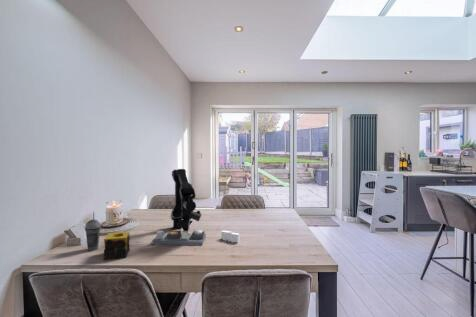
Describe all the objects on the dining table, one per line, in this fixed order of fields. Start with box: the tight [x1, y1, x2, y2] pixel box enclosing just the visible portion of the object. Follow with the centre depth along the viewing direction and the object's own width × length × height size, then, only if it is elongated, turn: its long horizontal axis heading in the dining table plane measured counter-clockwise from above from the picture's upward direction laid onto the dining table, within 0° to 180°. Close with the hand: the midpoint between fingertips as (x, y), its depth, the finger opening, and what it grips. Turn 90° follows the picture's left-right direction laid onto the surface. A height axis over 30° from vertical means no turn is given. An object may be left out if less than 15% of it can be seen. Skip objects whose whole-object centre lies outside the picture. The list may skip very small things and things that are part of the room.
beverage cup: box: [84, 211, 102, 252], centre depth 128 cm, size 7×7×20 cm
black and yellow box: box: [103, 231, 131, 261], centre depth 122 cm, size 10×10×10 cm
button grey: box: [193, 229, 203, 235], centre depth 142 cm, size 5×5×2 cm
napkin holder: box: [220, 230, 241, 244], centre depth 143 cm, size 15×11×6 cm
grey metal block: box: [156, 230, 165, 240], centre depth 139 cm, size 3×3×4 cm
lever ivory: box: [181, 230, 189, 239], centre depth 140 cm, size 3×3×4 cm
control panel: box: [151, 230, 207, 246], centre depth 143 cm, size 13×28×4 cm, turn 89°
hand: (186, 234), depth 143 cm, fingers closed
